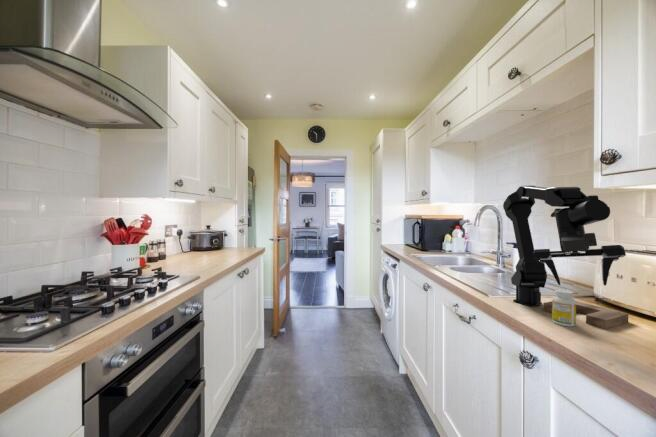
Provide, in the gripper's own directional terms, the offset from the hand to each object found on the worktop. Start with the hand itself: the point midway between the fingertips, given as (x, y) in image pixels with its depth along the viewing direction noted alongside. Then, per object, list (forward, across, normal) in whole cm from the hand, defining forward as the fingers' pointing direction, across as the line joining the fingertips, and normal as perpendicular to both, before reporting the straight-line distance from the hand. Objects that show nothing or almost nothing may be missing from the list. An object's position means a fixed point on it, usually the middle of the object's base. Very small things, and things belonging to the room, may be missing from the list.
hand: (581, 285), depth 75 cm
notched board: (+9, 0, +19) cm, 21 cm away
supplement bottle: (+11, -5, +8) cm, 15 cm away
